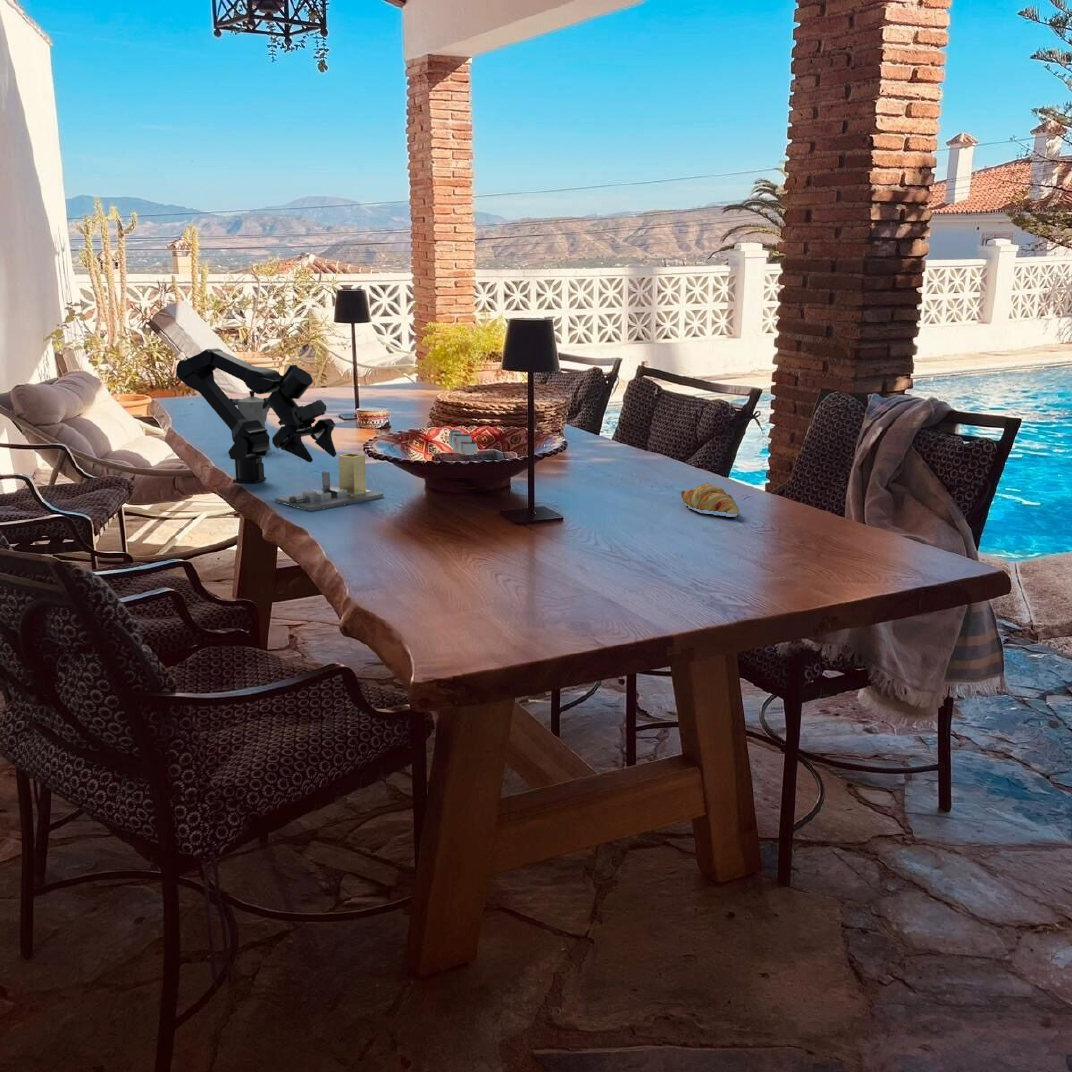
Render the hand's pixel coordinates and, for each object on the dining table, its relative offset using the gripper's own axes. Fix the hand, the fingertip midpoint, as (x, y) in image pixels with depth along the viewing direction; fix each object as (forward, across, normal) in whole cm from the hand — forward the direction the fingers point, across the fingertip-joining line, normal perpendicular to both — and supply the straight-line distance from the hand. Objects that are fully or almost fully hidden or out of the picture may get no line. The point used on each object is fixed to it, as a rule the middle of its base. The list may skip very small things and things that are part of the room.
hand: (323, 458), depth 261 cm
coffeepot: (-35, +37, +48) cm, 70 cm away
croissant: (+70, +31, -58) cm, 96 cm away
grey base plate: (+11, -8, +1) cm, 14 cm away
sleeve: (+12, 0, -1) cm, 12 cm away
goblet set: (+20, +31, -8) cm, 38 cm away
